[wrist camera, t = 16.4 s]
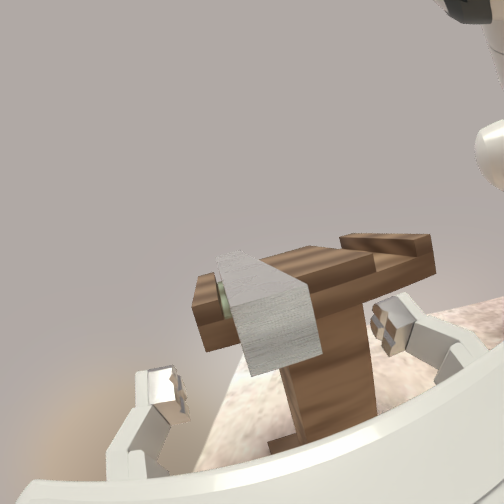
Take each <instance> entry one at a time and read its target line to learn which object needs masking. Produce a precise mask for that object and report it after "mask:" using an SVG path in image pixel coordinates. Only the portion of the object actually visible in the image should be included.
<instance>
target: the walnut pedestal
mask: <svg viewBox="0 0 504 504" xmlns="http://www.w3.org/2000/svg"><path fill="white" fill-rule="evenodd" d="M339 239H340V243H341V247H342V249H334V248H325V247H317V246H306V247H302V248H299V249H295V250H292V251H288V252H285V253H281V254H278V255H274V256H270V257H267V258H263V259H259V260H260V261H262V262H264V263H266V264H268V265H270V266H272V267H274V268H276V269H278V270H280V271H282V272H284V273H286V274H288V275H290V276H292V277H294V278H296V279H298V280H300V281H302V282H304V283H306V284H307V285H308V289H309V294H310V298H311V302H312V307H313V311H314V316H315V320H316V325H317V330H318V334H319V339H320V344H321V348H322V353H323V354H321V355H318V356H315V357H312V358H310V359H307V360H304V361H301V362H298V363H295V364H292V365H289V366H286V367H283V368H279V370H280V374H281V378H282V382H283V385H284V389H285V393H286V396H287V400H288V404H289V408H290V411H291V415H292V419H293V422H294V426H295V430H296V433H295V434H292V435H289V436H285V437H282V438H279V439H276V440H272V441H269V442H267V443H268V446H269V449H270V452H271V455H273V454H277V453H280V452H284V451H287V450H290V449H293V448H296V447H299V446H302V445H305V444H308V443H311V442H314V441H317V440H320V439H322V438H325V437H328V436H331V435H333V434H336V433H338V432H341V431H343V430H346V429H348V428H351V427H353V426H356V425H358V424H360V423H363V422H365V421H367V420H369V419H372V418H374V417H376V416H378V415H377V407H376V397H375V388H374V379H373V371H372V363H371V356H370V348H369V341H368V335H367V328H366V322H365V317H364V310H363V304H362V303H364V302H367V301H370V300H372V299H375V298H378V297H380V296H383V295H385V294H388V293H391V292H393V291H396V290H398V289H400V288H403V287H405V286H408V285H411V284H413V283H415V282H418V281H420V280H423V279H425V278H427V277H430V276H432V275H434V274H436V268H435V261H434V254H433V248H432V242H431V236H430V234H372V233H368V234H367V233H363V234H362V233H361V234H360V233H358V234H357V233H352V234H348V235H345V236H341V237H339ZM192 310H193V313H194V317H195V320H196V323H197V326H198V329H199V332H200V335H201V339H202V341H203V345H204V348H205V351H206V352H210V351H213V350H217V349H221V348H224V347H229V346H232V345H235V344H239V343H240V340H239V336H238V333H237V330H236V327H235V323H234V320H233V317H232V314H231V310H230V307H229V304H228V300H227V297H226V294H225V290H224V287H223V283H222V281H221V282H218V284H217V282H216V278H215V275H214V272H213V273H209V274H205V275H201V276H198V280H197V285H196V289H195V293H194V298H193V302H192Z"/></svg>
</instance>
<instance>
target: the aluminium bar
mask: <svg viewBox="0 0 504 504" xmlns="http://www.w3.org/2000/svg"><path fill="white" fill-rule="evenodd" d="M215 258H216V262H217V265H218V269H219V273H220V276H221V280H222V283H223V287H224V290H225V294H226V297H227V300H228V304H229V307H230V310H231V314H232V317H233V320H234V323H235V327H236V330H237V333H238V336H239V340H240V343H241V346H242V349H243V352H244V356H245V359H246V362H247V365H248V368H249V371H250V374H251V377H253V376H256V375H260V374H263V373H266V372H270V371H273V370H276V369H279V368H283V367H286V366H289V365H292V364H295V363H298V362H301V361H304V360H307V359H310V358H312V357H315V356H318V355H321V354H323V353H322V348H321V344H320V339H319V334H318V330H317V325H316V320H315V316H314V311H313V307H312V302H311V298H310V294H309V289H308V285H307V284H306V283H304V282H302V281H300V280H298V279H296V278H294V277H292V276H290V275H288V274H286V273H284V272H282V271H280V270H278V269H276V268H274V267H272V266H270V265H268V264H266V263H264V262H262V261H260V260H258V259H256V258H254V257H252V256H250V255H248V254H246V253H244V252H242V251H240V250H238V251H235V252H231V253H227V254H224V255H220V256H216V257H215Z"/></svg>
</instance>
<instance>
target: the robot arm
mask: <svg viewBox="0 0 504 504" xmlns="http://www.w3.org/2000/svg"><path fill="white" fill-rule="evenodd" d="M434 2H436V3H437V4H438V5H439V6H440V7H441V8H442V9H444V10H445V12H446V13H447V14H448V15H449V16H450V17H452V18H454V19H455V20H457V21H459V22H460V23H463V24H481V27H482V30H483V33H484V36H485V38H486V41H487V44H488V47H489V50H490V53H491V56H492V59H493V62H494V65H495V68H496V72H497V75H498V79H499V82H500V85H501V87H502V89H503V91H504V0H434ZM475 157H476V161H477V164H478V167H479V169H480V171H481V173H482V174H483V176H484V177H485V178H486V179H487V181H488V182H490V183H491V184H492V185H493V186H495V187H497V188H499V189H500V190H501V191H503V192H504V119H503V120H499V121H497V122H495V123H493V124H490V125H488V126H487V127H485V128H483V129H481V130H480V131H479V133H478V135H477V137H476V142H475ZM372 311H373V313H374V315H373V316H372V317H371V321H370V325H371V330H372V332H373V334H374V336H375V337H376V339H378V340H381V341H382V345H381V346H382V348H383V349H384V351H385V352H386V354H387V355H388V357H391V356H393V355H396V354H398V353H400V352H403V351H405V350H406V352H408V353H410V354H411V355H413V356H415V357H417V358H418V359H420V360H422V361H424V362H425V363H427V364H429V365H431V366H433V367H434V368H436V369H438V370H439V371H438V372H437V374H436V376H435V378H434V383H435V384H436V386H434V387H432V388H431V389H429V390H427V391H425V392H423V393H422V394H420V395H418V396H416V397H414V398H412V399H411V400H409V401H407V402H405V403H403V404H401V405H399V406H397V407H395V408H393V409H391V410H389V411H387V412H385V413H382V414H380V415H378V416H376V417H374V418H372V419H369V420H367V421H365V422H363V423H360V424H358V425H356V426H353V427H351V428H348V429H346V430H343V431H341V432H338V433H336V434H333V435H331V436H328V437H325V438H322V439H320V440H317V441H314V442H311V443H308V444H305V445H302V446H299V447H296V448H293V449H290V450H287V451H284V452H280V453H277V454H273V455H270V456H266V457H263V458H259V459H255V460H251V461H247V462H243V463H239V464H235V465H230V466H226V467H221V468H216V469H211V470H206V471H200V472H194V473H188V474H182V475H175V476H170V475H169V471H168V470H166V469H165V468H164V467H163V466H161V465H160V464H159V463H157V459H158V457H159V455H160V452H161V450H162V447H163V445H164V443H165V440H166V438H167V435H168V433H169V430H170V428H171V426H172V425H176V424H181V423H186V422H190V421H191V419H190V413H189V407H188V405H187V404H186V402H185V401H186V399H187V393H186V389H185V385H184V382H183V380H182V378H181V376H179V375H177V369H176V368H175V366H174V365H170V366H165V367H160V368H154V369H149V370H144V371H138V372H136V375H135V404H136V408H132V410H131V411H130V413H129V415H128V416H127V418H126V419H125V421H124V423H123V424H122V426H121V428H120V429H119V431H118V433H117V434H116V436H115V438H114V439H113V441H112V443H111V444H110V446H109V448H108V449H107V451H106V475H107V481H94V482H84V481H52V480H41V479H38V480H33V481H31V482H30V483H29V484H28V485H27V487H26V488H25V489H24V491H23V492H22V493H21V495H20V497H19V498H18V499H17V501H16V503H15V504H504V341H502V342H501V343H500V344H498V345H497V346H496V347H494V348H493V349H491V350H490V351H489V350H488V349H487V348H486V346H485V345H484V344H483V343H482V342H481V340H480V339H479V338H478V337H477V336H476V335H475V333H474V332H472V331H470V330H467V329H464V328H462V327H459V326H457V325H454V324H452V323H449V322H446V321H444V320H441V319H439V318H436V317H433V316H431V315H428V316H427V315H426V314H425V313H424V312H423V311H422V310H421V309H420V307H419V306H418V305H417V304H416V303H415V302H414V301H413V299H412V298H411V297H410V296H409V295H408V294H407V293H405V292H403V293H401V294H398V295H396V296H392V297H390V298H388V299H385V300H383V301H380V302H378V303H375V304H374V305H373V308H372Z"/></svg>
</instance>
